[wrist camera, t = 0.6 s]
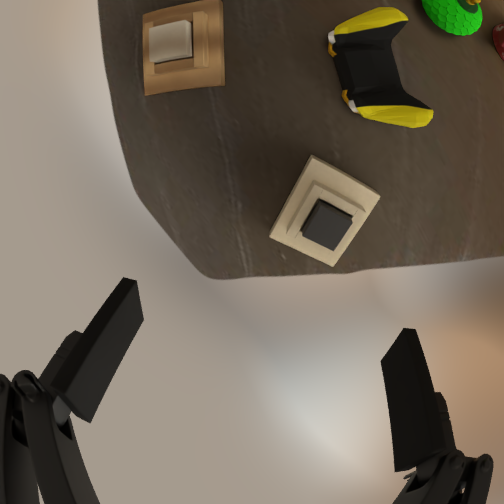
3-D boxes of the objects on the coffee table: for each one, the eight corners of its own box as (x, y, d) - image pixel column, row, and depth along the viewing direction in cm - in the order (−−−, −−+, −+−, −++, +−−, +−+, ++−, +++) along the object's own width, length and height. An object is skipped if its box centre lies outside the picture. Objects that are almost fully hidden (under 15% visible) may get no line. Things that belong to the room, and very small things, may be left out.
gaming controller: (390, 14, 20) (315, 20, 23) (405, 3, 16) (319, 7, 18) (419, 122, 27) (349, 132, 30) (439, 128, 23) (359, 138, 25)
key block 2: (311, 154, 32) (313, 161, 29) (376, 191, 33) (385, 202, 30) (270, 230, 39) (267, 244, 35) (331, 259, 40) (334, 275, 36)
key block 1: (149, 17, 24) (135, 11, 21) (223, 2, 23) (214, -8, 20) (151, 95, 30) (136, 96, 27) (225, 85, 29) (216, 84, 26)
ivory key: (156, 31, 23) (148, 28, 21) (191, 23, 22) (185, 19, 20) (157, 62, 25) (149, 61, 23) (192, 56, 25) (186, 54, 23)
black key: (319, 198, 32) (320, 205, 30) (350, 215, 32) (353, 222, 30) (301, 228, 34) (302, 236, 32) (331, 243, 34) (333, 251, 33)
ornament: (409, 21, 20) (444, 3, 12) (413, -21, 16) (444, -45, 8) (459, 49, 20) (502, 43, 12) (462, 6, 16) (501, -6, 7)
